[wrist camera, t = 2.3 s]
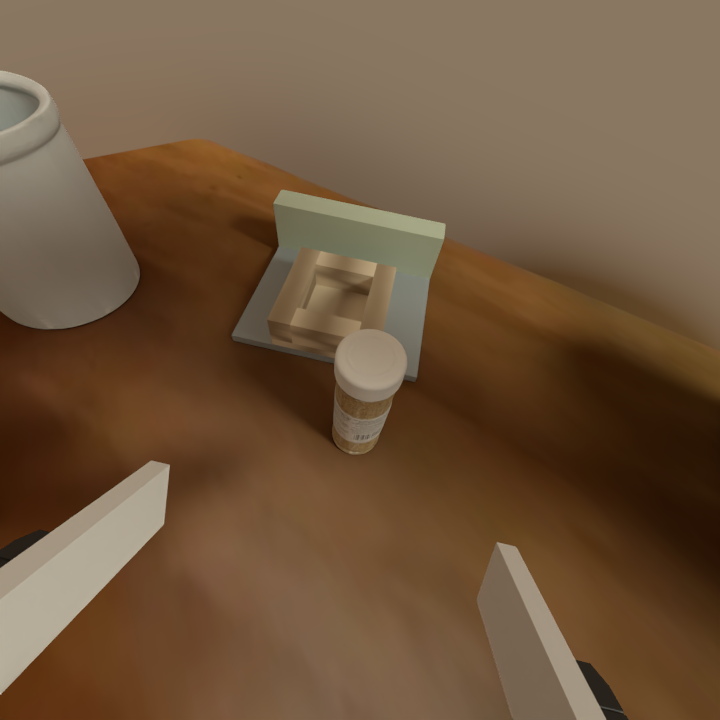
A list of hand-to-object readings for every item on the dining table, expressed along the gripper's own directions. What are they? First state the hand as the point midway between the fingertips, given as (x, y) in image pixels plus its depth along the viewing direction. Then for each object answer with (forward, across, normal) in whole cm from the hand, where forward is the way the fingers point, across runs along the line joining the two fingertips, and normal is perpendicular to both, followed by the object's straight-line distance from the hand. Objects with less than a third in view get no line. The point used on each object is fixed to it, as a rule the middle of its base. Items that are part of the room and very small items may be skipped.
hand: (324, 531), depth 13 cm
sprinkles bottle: (+18, 0, -4) cm, 19 cm away
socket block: (+26, -5, +6) cm, 27 cm away
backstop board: (+29, -4, +8) cm, 31 cm away
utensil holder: (+26, -35, +3) cm, 43 cm away
